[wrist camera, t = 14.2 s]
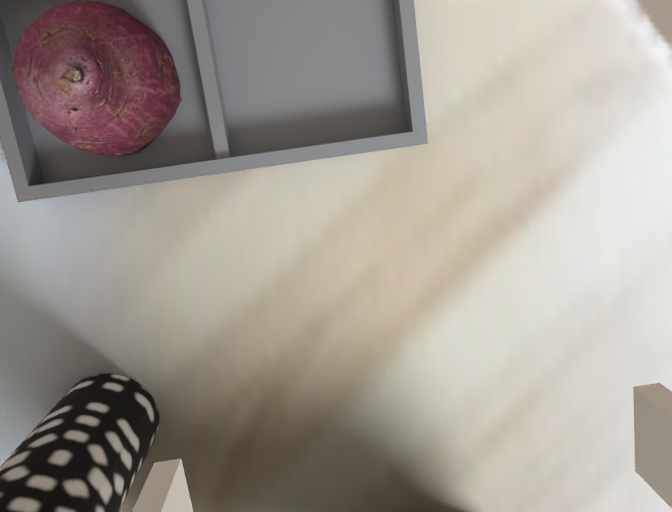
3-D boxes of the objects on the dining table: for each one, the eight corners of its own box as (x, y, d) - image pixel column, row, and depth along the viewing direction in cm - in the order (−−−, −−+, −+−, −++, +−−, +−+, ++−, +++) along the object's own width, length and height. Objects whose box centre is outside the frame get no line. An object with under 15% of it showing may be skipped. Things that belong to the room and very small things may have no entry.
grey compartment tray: (418, 142, 44) (427, 143, 41) (40, 196, 44) (18, 202, 40) (397, -64, 41) (405, -82, 38) (-13, -9, 40) (-43, -22, 37)
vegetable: (197, 50, 44) (225, 3, 30) (154, 174, 44) (162, 185, 31) (55, -14, 40) (11, -102, 26) (10, 123, 41) (-56, 109, 27)
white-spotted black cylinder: (72, 362, 47) (-94, 528, 27) (169, 388, 48) (76, 565, 28) (51, 448, 48) (-120, 662, 29) (146, 471, 49) (43, 693, 30)
